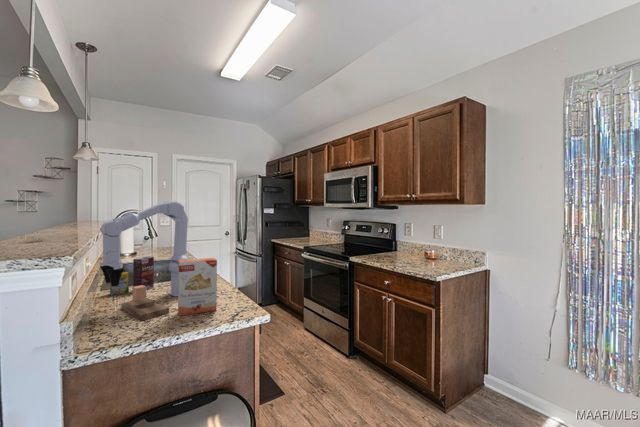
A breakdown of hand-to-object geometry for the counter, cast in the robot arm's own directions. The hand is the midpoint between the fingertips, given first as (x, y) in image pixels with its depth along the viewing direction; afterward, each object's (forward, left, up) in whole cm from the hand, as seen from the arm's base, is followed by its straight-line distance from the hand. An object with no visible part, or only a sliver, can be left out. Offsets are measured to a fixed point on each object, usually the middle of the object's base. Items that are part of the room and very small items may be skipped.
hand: (112, 284), depth 121 cm
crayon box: (-9, -22, -10) cm, 26 cm away
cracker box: (-20, +29, -10) cm, 37 cm away
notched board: (-7, +12, -10) cm, 17 cm away
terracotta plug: (-11, -4, -10) cm, 16 cm away
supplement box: (-19, -20, -10) cm, 30 cm away
